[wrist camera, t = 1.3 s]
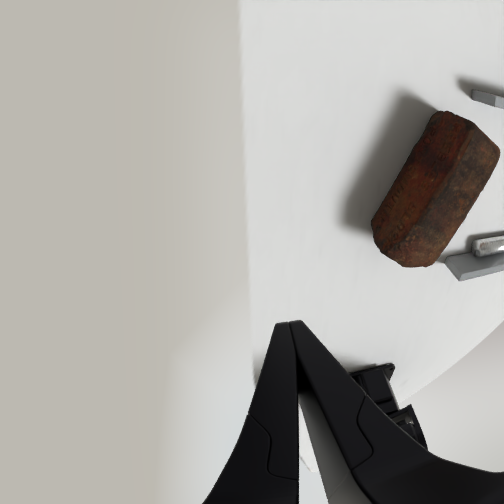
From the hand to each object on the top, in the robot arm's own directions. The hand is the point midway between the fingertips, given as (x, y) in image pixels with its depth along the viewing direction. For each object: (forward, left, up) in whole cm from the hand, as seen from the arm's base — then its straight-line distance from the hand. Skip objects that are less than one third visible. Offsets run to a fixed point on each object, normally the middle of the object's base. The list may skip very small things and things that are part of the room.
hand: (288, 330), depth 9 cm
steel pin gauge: (-7, -23, -12) cm, 27 cm away
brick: (0, -12, -12) cm, 17 cm away
